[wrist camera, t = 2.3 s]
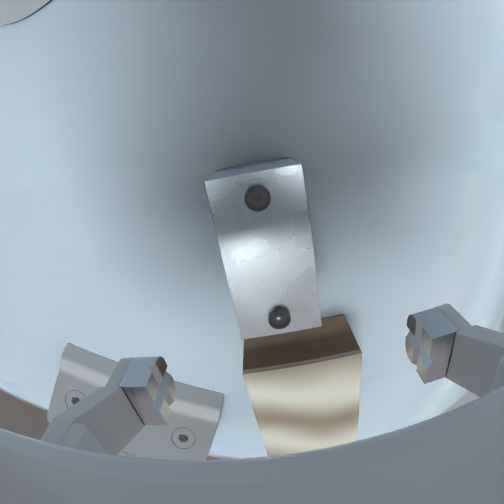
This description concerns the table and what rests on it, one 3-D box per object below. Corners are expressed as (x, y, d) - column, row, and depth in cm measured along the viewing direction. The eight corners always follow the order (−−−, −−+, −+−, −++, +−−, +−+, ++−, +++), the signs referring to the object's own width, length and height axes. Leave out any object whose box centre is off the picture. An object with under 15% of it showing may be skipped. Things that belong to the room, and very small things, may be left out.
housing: (218, 170, 20) (203, 183, 14) (287, 157, 20) (302, 164, 14) (244, 291, 23) (242, 343, 17) (306, 280, 23) (323, 330, 17)
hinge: (228, 394, 27) (211, 494, 19) (218, 409, 30) (203, 495, 22) (64, 340, 25) (26, 427, 17) (73, 362, 28) (42, 439, 20)
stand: (244, 331, 24) (242, 374, 19) (343, 314, 23) (361, 353, 19) (267, 421, 28) (269, 460, 23) (344, 408, 28) (355, 445, 23)
